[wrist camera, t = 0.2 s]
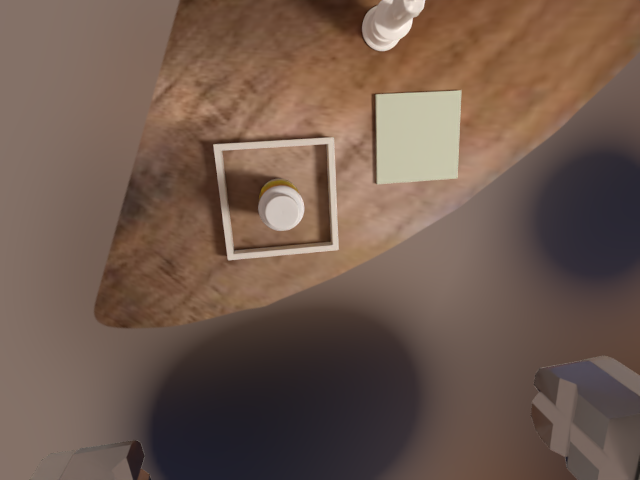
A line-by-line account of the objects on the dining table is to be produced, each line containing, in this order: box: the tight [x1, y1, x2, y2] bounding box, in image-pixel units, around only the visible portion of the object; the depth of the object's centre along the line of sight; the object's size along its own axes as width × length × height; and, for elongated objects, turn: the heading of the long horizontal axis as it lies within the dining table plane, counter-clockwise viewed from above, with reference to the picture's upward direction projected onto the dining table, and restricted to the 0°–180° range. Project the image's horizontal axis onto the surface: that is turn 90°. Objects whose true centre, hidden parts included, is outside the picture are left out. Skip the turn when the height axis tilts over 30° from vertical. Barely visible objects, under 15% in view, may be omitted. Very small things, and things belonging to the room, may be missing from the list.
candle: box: [362, 0, 425, 51], centre depth 44 cm, size 5×5×12 cm
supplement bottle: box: [258, 179, 304, 231], centre depth 49 cm, size 6×6×10 cm
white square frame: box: [213, 137, 339, 260], centre depth 53 cm, size 16×16×2 cm
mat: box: [375, 91, 461, 184], centre depth 54 cm, size 12×12×1 cm
